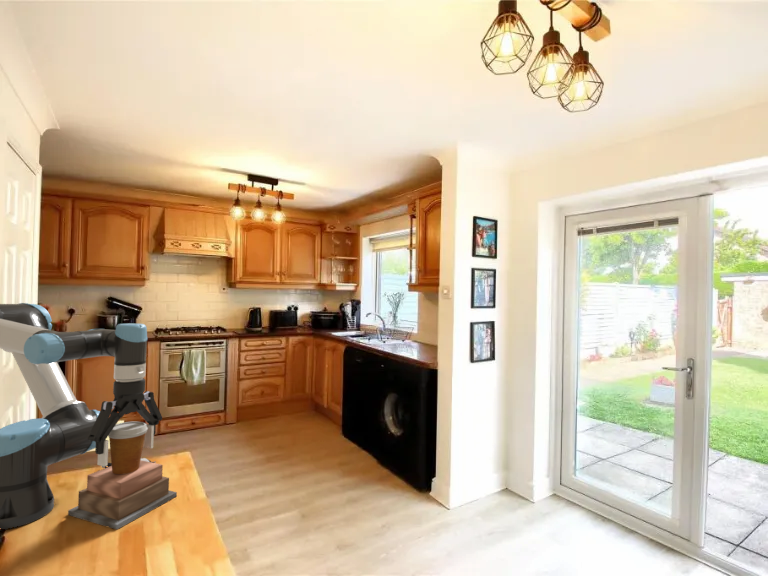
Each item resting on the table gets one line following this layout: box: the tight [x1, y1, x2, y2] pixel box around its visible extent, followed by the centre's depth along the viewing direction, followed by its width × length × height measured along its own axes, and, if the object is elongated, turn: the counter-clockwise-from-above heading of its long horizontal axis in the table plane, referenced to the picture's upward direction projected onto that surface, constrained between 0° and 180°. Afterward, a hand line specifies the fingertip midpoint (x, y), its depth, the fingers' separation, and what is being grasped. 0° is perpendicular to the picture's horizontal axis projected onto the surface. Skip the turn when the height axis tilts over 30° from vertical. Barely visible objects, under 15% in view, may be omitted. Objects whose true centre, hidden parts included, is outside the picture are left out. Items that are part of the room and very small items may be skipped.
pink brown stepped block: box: [67, 460, 178, 530], centre depth 111 cm, size 18×18×10 cm
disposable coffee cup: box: [107, 421, 148, 474], centre depth 111 cm, size 10×10×12 cm
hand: (126, 456), depth 111 cm, fingers open, 13 cm apart
